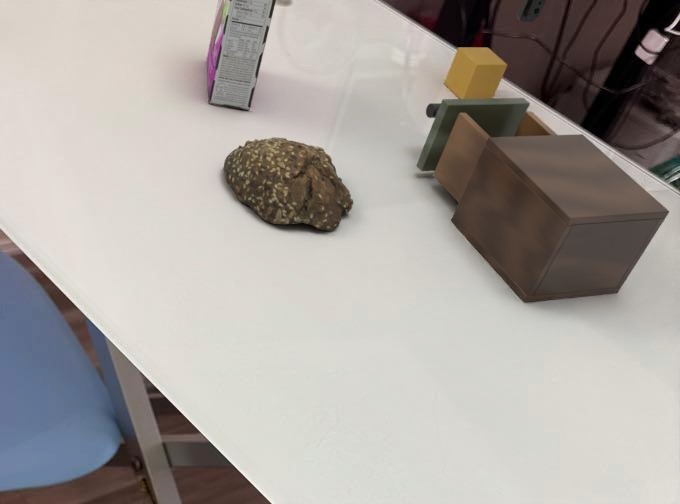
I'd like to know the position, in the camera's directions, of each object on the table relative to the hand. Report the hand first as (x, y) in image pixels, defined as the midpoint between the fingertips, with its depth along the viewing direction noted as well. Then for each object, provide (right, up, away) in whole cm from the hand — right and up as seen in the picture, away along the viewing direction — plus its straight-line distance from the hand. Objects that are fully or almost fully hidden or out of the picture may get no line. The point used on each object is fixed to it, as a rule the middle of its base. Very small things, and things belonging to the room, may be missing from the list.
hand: (504, 3), depth 111 cm
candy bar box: (-32, -10, -1) cm, 33 cm away
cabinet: (-3, -33, -15) cm, 36 cm away
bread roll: (-27, -27, -15) cm, 41 cm away
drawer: (-6, -24, -9) cm, 26 cm away
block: (-2, -6, +8) cm, 10 cm away
